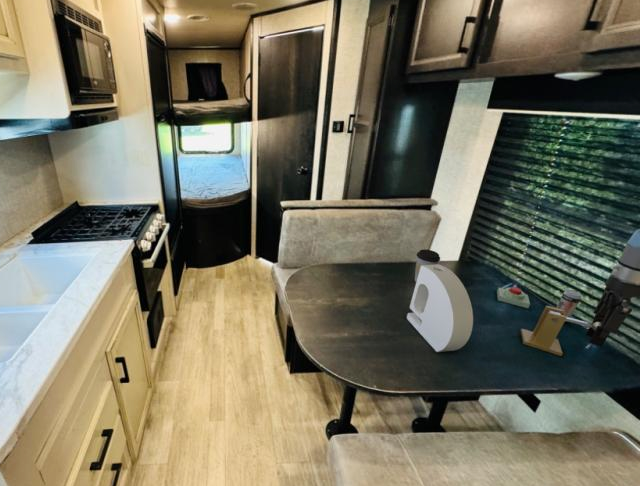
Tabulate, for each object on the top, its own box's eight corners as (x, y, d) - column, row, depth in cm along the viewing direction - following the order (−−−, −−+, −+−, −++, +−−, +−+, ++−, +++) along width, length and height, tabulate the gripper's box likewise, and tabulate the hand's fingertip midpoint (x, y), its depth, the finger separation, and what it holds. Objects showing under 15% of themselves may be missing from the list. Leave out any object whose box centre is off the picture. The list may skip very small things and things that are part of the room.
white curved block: (422, 317, 124) (438, 261, 113) (462, 357, 105) (485, 295, 94) (406, 318, 123) (420, 263, 113) (443, 359, 104) (464, 296, 94)
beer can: (548, 314, 125) (561, 289, 120) (561, 314, 125) (574, 289, 120) (558, 322, 121) (572, 296, 116) (571, 322, 120) (586, 297, 115)
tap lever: (604, 331, 101) (609, 322, 100) (607, 337, 98) (612, 328, 97) (545, 315, 109) (549, 307, 107) (547, 321, 106) (551, 312, 104)
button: (519, 291, 133) (521, 288, 132) (520, 296, 130) (522, 292, 130) (509, 289, 135) (510, 285, 134) (509, 293, 132) (511, 289, 131)
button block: (525, 298, 135) (529, 291, 133) (528, 308, 129) (531, 300, 127) (496, 291, 140) (499, 283, 138) (497, 300, 134) (501, 292, 132)
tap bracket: (556, 341, 111) (573, 310, 105) (561, 356, 105) (579, 323, 99) (520, 330, 116) (534, 300, 111) (522, 343, 110) (538, 312, 105)
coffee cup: (431, 278, 149) (440, 250, 143) (433, 288, 141) (442, 260, 135) (409, 274, 153) (417, 247, 147) (410, 284, 145) (418, 255, 139)
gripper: (602, 264, 101) (571, 322, 110) (620, 288, 88) (583, 351, 98) (637, 270, 97) (601, 330, 106) (661, 297, 84) (618, 361, 94)
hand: (593, 340), depth 102 cm, fingers closed on tap lever, 4 cm apart
